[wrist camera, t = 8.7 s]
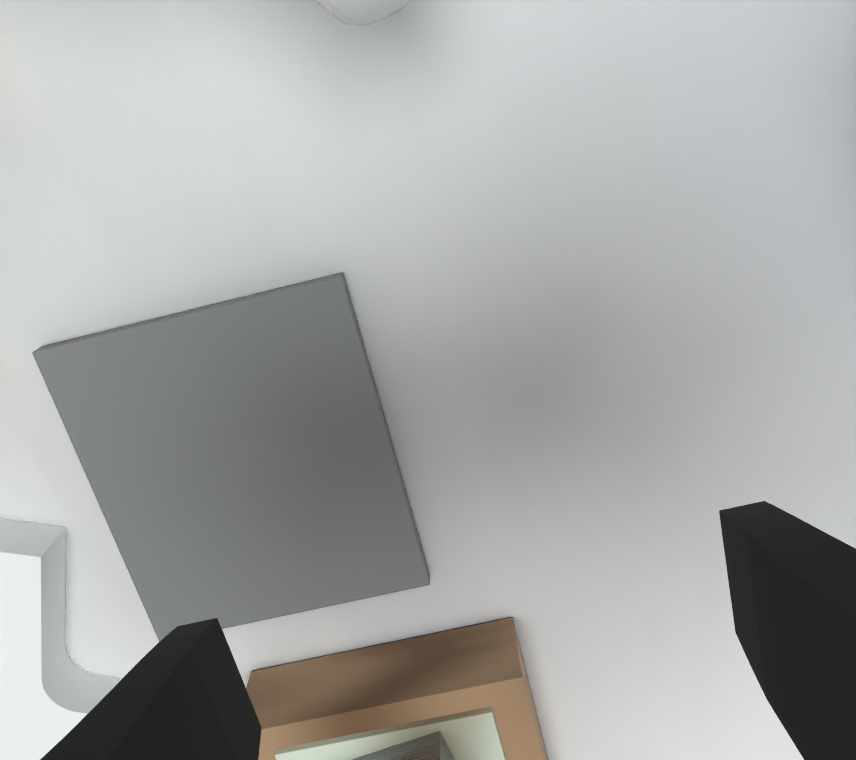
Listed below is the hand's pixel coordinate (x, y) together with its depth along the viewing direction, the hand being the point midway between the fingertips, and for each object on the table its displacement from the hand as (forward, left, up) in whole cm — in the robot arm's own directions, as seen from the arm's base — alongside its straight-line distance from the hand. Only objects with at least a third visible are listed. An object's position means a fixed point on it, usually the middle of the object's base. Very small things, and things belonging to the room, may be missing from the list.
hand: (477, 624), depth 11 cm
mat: (+6, +1, -10) cm, 12 cm away
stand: (+4, +12, -10) cm, 16 cm away
